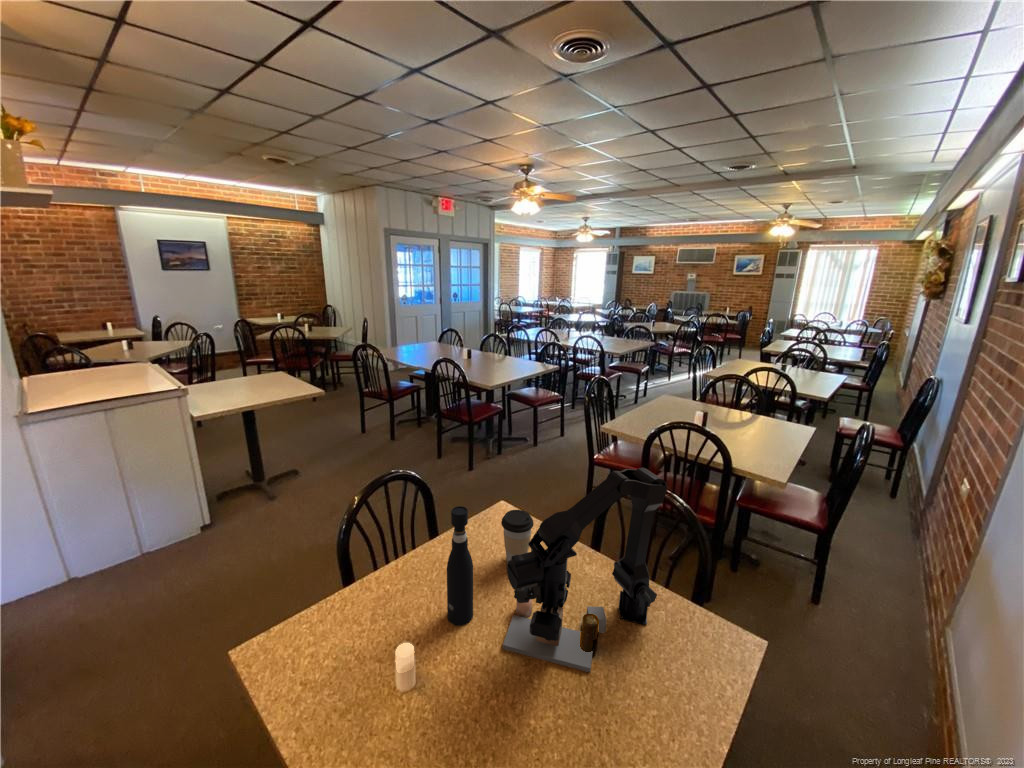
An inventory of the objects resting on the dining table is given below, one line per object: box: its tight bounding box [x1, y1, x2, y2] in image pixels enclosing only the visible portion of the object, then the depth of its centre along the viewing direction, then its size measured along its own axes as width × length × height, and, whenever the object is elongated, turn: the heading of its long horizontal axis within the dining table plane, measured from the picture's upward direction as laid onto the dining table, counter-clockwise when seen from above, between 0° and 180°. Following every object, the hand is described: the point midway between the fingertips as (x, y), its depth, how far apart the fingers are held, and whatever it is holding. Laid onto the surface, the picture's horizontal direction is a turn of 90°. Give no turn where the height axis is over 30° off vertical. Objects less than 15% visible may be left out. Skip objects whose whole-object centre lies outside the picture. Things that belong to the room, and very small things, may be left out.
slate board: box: [502, 614, 594, 673], centre depth 97 cm, size 20×9×1 cm, turn 74°
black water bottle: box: [446, 505, 474, 627], centre depth 101 cm, size 6×6×30 cm
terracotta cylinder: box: [515, 599, 533, 619], centre depth 106 cm, size 4×4×4 cm
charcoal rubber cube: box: [586, 605, 607, 634], centre depth 102 cm, size 4×4×4 cm
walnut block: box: [537, 603, 564, 646], centre depth 96 cm, size 5×5×6 cm
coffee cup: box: [501, 509, 535, 564], centre depth 123 cm, size 9×9×15 cm
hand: (550, 630), depth 97 cm, fingers closed on walnut block, 5 cm apart
